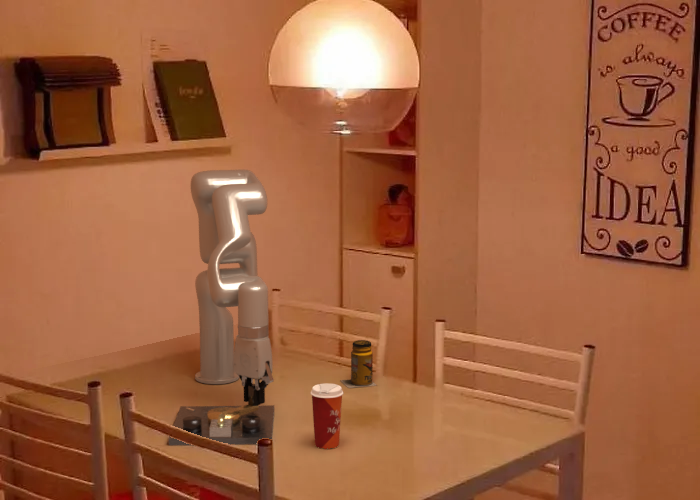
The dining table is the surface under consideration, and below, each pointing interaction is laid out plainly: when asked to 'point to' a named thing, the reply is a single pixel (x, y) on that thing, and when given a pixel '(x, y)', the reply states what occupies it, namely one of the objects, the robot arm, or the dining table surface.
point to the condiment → (361, 365)
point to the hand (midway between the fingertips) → (254, 401)
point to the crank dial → (235, 412)
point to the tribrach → (225, 425)
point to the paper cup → (327, 414)
